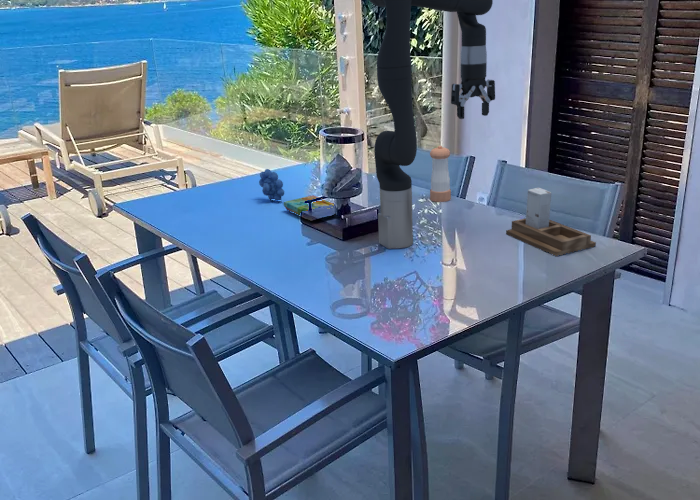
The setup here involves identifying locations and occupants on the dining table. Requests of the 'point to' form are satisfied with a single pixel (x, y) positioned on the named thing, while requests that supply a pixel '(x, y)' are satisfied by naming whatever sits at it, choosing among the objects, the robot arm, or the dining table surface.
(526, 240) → the rack
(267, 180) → the grapes
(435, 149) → the salt shaker
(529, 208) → the skincare box
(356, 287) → the dining table surface
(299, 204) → the puzzle game
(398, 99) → the robot arm
